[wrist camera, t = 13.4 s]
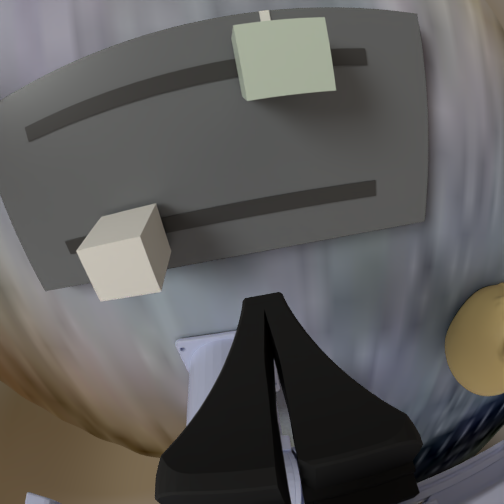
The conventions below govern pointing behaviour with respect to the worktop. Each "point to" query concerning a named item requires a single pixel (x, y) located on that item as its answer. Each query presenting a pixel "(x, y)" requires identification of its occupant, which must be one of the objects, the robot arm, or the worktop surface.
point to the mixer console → (218, 143)
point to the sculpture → (478, 342)
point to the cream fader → (126, 253)
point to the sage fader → (283, 57)
